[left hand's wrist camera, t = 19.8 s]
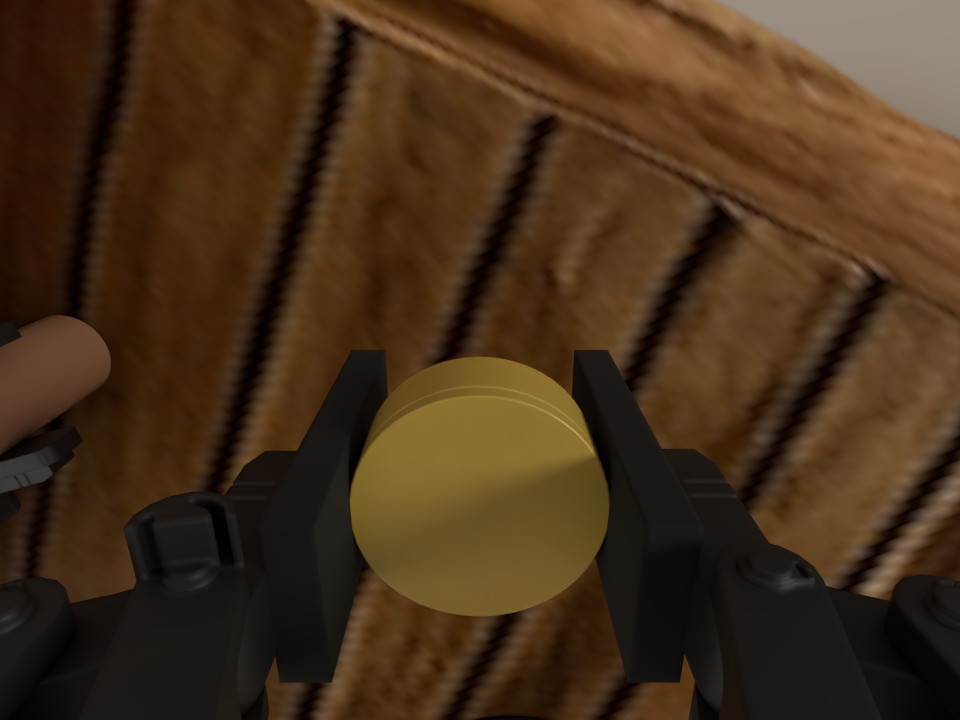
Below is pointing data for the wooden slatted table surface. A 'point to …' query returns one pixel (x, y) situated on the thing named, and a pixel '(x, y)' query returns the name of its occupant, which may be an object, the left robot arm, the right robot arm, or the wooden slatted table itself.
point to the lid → (479, 489)
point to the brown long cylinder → (47, 374)
